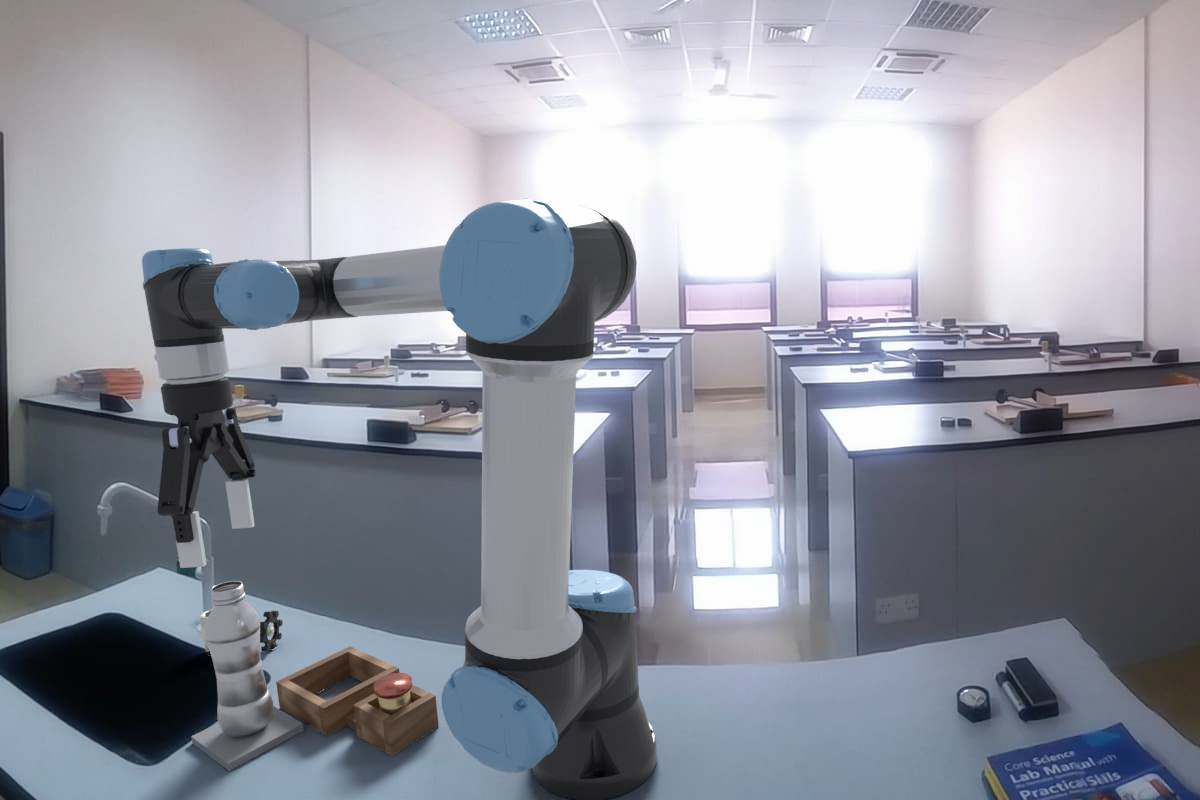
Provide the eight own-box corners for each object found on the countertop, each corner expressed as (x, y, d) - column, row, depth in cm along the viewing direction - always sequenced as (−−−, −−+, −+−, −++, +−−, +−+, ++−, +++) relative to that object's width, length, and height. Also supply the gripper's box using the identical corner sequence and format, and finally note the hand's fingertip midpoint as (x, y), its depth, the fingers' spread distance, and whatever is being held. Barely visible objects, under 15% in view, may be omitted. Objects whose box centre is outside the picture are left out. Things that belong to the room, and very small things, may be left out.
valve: (193, 661, 123) (265, 659, 122) (187, 622, 122) (260, 621, 121) (216, 641, 130) (285, 639, 129) (211, 604, 128) (280, 602, 127)
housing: (451, 718, 103) (448, 687, 102) (377, 765, 94) (373, 732, 93) (353, 670, 117) (349, 643, 116) (279, 707, 108) (275, 678, 107)
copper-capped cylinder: (424, 725, 101) (419, 679, 100) (394, 744, 97) (388, 696, 96) (401, 714, 104) (396, 669, 103) (371, 731, 100) (365, 685, 99)
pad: (303, 730, 102) (302, 723, 102) (229, 771, 94) (228, 763, 94) (265, 706, 108) (264, 700, 108) (192, 743, 101) (191, 736, 100)
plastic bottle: (278, 732, 100) (258, 588, 97) (221, 750, 97) (198, 602, 94) (272, 709, 106) (253, 571, 102) (218, 725, 103) (196, 584, 99)
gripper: (212, 367, 105) (234, 515, 109) (100, 398, 81) (133, 588, 84) (267, 364, 105) (287, 512, 109) (172, 393, 81) (202, 583, 85)
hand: (220, 545), depth 97 cm, fingers open, 13 cm apart
